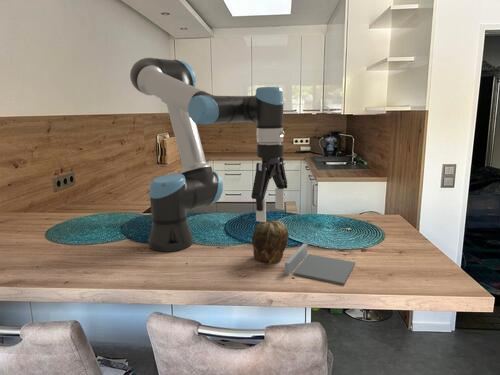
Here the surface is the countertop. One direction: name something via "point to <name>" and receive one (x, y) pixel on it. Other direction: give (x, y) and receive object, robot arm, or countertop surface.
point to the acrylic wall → (295, 259)
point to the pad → (325, 269)
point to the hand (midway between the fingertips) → (271, 215)
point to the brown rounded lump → (269, 241)
